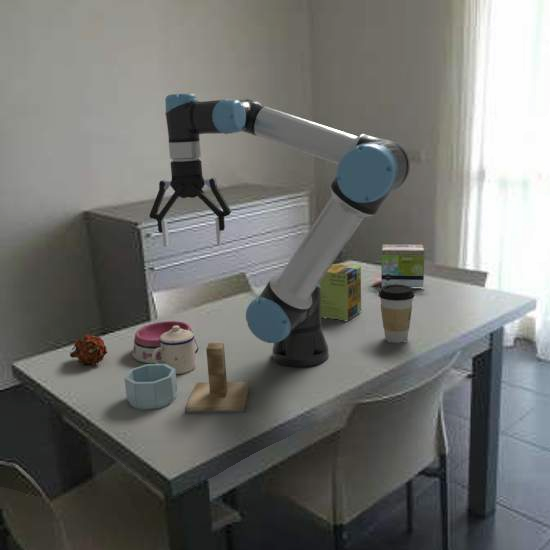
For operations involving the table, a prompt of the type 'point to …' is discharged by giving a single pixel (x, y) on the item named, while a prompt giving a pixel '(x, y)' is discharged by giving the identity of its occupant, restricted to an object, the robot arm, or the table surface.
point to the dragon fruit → (89, 350)
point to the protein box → (341, 292)
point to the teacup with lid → (177, 350)
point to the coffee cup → (396, 311)
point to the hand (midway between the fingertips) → (192, 244)
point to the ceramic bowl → (151, 386)
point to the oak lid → (218, 386)
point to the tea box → (402, 265)
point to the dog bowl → (154, 340)
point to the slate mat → (218, 410)
